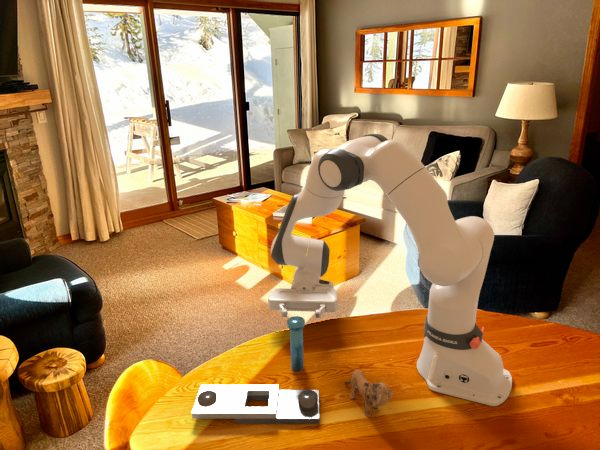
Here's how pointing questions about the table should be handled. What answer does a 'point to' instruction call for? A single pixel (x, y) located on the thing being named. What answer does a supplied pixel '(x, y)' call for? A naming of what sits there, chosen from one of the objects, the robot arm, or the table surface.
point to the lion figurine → (369, 391)
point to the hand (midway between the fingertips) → (301, 315)
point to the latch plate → (279, 411)
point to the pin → (296, 342)
